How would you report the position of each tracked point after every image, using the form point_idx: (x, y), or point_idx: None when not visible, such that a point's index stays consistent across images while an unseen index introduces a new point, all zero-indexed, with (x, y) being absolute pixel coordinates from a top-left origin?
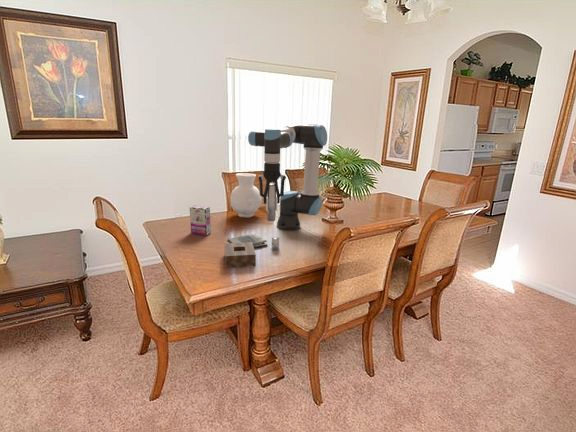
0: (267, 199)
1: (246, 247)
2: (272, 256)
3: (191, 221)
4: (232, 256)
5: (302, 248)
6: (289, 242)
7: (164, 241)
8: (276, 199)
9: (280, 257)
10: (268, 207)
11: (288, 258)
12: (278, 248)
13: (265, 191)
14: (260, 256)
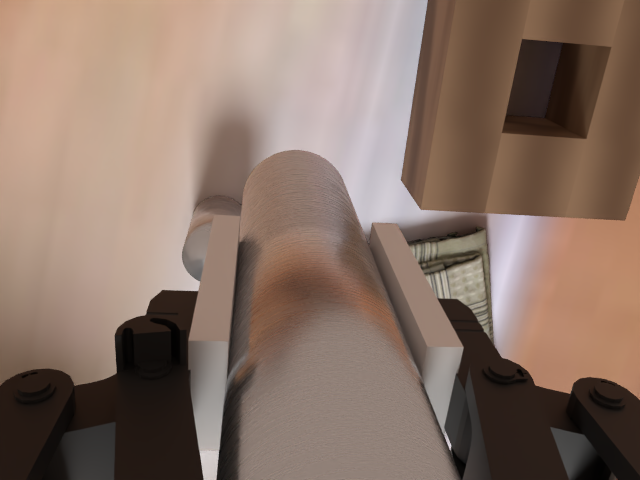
0: (430, 327)
1: (494, 108)
2: (270, 89)
3: None
4: None
5: (5, 191)
6: (91, 314)
7: None
8: (219, 316)
9: (213, 56)
10: (370, 253)
11: (153, 22)
12: (198, 206)
13: (557, 475)
14: (357, 108)
